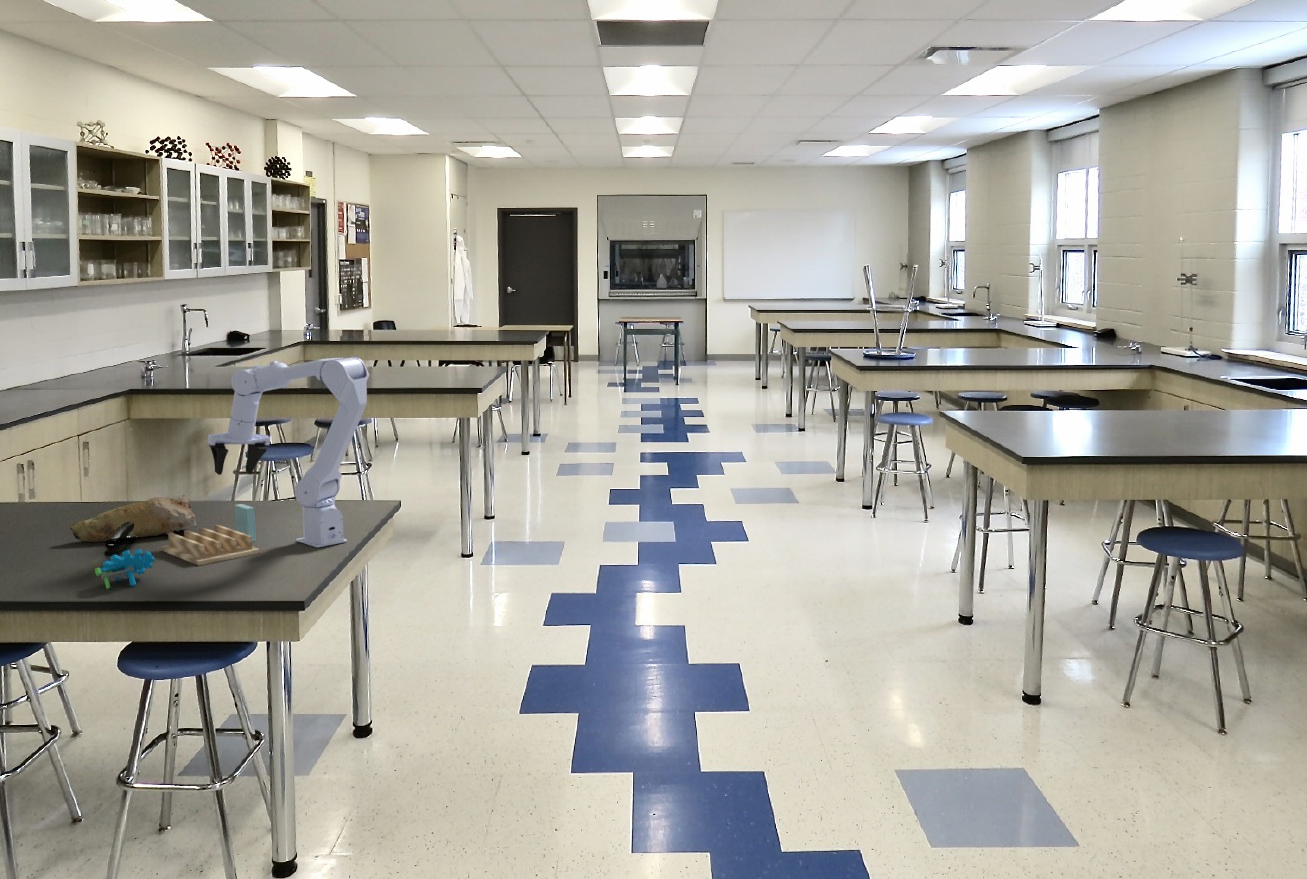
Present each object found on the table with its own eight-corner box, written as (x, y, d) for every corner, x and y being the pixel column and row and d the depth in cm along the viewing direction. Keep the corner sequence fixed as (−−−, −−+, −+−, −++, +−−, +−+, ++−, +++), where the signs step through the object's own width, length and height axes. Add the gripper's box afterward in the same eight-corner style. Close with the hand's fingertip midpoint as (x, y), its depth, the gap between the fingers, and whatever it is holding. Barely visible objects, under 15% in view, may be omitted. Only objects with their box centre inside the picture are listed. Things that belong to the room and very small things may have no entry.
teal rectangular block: (256, 541, 261) (254, 507, 260) (248, 542, 260) (246, 508, 259) (243, 536, 265) (241, 503, 264) (236, 538, 264) (234, 505, 263)
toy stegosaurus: (155, 566, 234) (151, 541, 226) (161, 590, 231) (158, 566, 223) (97, 580, 229) (91, 555, 221) (103, 605, 226) (97, 581, 218)
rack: (259, 553, 250) (258, 535, 250) (198, 565, 240) (197, 547, 240) (221, 539, 263) (220, 522, 262) (162, 550, 252) (160, 533, 252)
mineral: (68, 512, 252) (65, 511, 261) (75, 552, 253) (72, 550, 262) (192, 491, 266) (185, 491, 275) (199, 529, 267) (192, 528, 275)
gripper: (263, 413, 270) (254, 466, 273) (205, 412, 259) (196, 467, 263) (278, 423, 266) (268, 476, 269) (219, 422, 255) (209, 478, 258)
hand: (233, 472), depth 265 cm, fingers open, 7 cm apart
